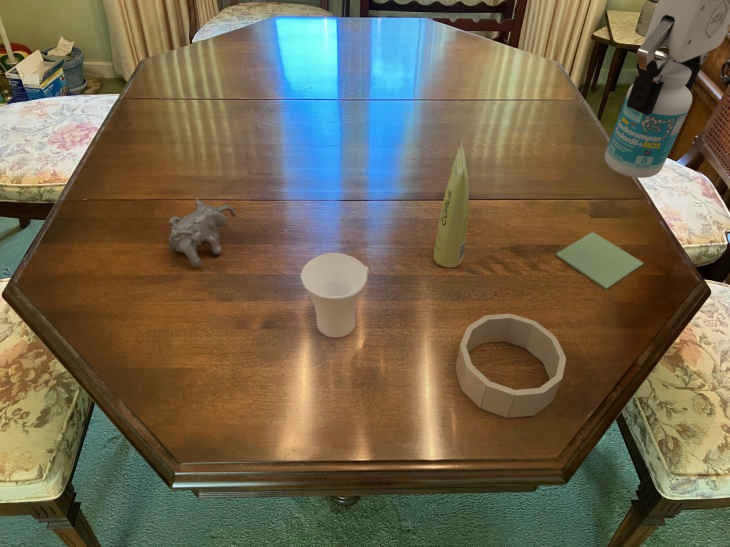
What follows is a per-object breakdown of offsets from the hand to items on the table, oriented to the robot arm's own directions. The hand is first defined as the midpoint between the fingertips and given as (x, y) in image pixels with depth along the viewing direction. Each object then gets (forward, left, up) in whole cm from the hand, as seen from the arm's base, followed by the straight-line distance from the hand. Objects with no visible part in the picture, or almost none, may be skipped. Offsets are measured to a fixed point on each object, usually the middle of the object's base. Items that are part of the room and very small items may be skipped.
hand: (657, 100), depth 69 cm
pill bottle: (0, 0, -10) cm, 10 cm away
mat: (+1, -4, -30) cm, 30 cm away
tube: (+16, +16, -30) cm, 37 cm away
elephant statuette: (+42, +47, -30) cm, 70 cm away
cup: (+15, +39, -30) cm, 51 cm away
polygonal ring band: (-6, +26, -30) cm, 40 cm away
